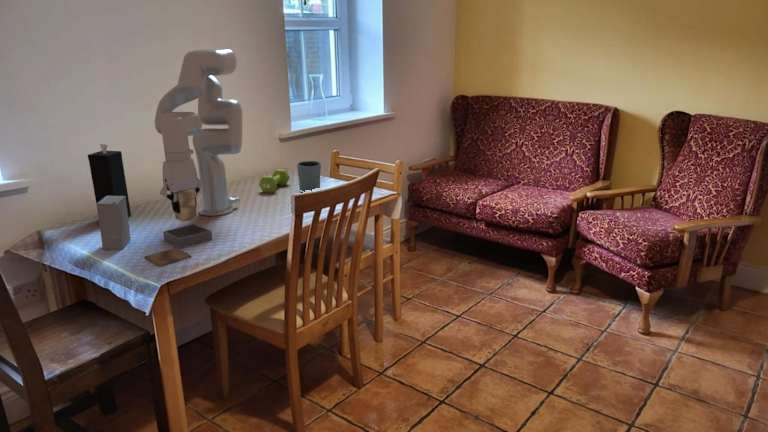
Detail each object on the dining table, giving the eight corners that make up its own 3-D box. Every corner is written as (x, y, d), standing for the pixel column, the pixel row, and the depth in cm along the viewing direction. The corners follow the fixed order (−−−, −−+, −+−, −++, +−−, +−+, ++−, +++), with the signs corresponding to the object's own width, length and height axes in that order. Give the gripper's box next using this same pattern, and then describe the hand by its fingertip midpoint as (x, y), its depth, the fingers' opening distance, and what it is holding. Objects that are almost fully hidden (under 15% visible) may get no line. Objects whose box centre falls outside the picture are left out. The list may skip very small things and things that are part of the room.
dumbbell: (275, 194, 241) (273, 177, 239) (258, 193, 243) (256, 176, 241) (291, 184, 256) (290, 168, 254) (275, 183, 258) (274, 167, 256)
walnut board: (175, 249, 180) (175, 247, 180) (191, 257, 174) (191, 255, 174) (144, 258, 174) (144, 256, 173) (159, 266, 167) (159, 264, 167)
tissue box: (118, 222, 206) (105, 146, 198) (99, 221, 208) (85, 145, 199) (131, 216, 214) (119, 142, 205) (112, 215, 215) (100, 141, 206)
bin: (195, 231, 196) (194, 223, 195) (212, 239, 189) (211, 230, 188) (164, 240, 188) (162, 231, 187) (180, 248, 181) (179, 239, 180)
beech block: (189, 214, 190) (185, 185, 187) (197, 218, 187) (193, 188, 184) (175, 218, 187) (171, 188, 184) (183, 222, 184) (178, 191, 180)
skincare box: (111, 241, 188) (103, 195, 183) (133, 240, 188) (126, 194, 183) (101, 250, 180) (93, 202, 175) (125, 249, 180) (117, 202, 175)
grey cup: (302, 187, 250) (300, 160, 247) (324, 187, 249) (323, 160, 245) (295, 193, 241) (294, 165, 237) (319, 194, 240) (317, 166, 236)
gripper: (196, 149, 188) (202, 201, 194) (146, 158, 177) (154, 214, 183) (208, 152, 183) (214, 206, 189) (157, 162, 172) (166, 219, 178)
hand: (185, 209), depth 186 cm, fingers closed on beech block, 5 cm apart
